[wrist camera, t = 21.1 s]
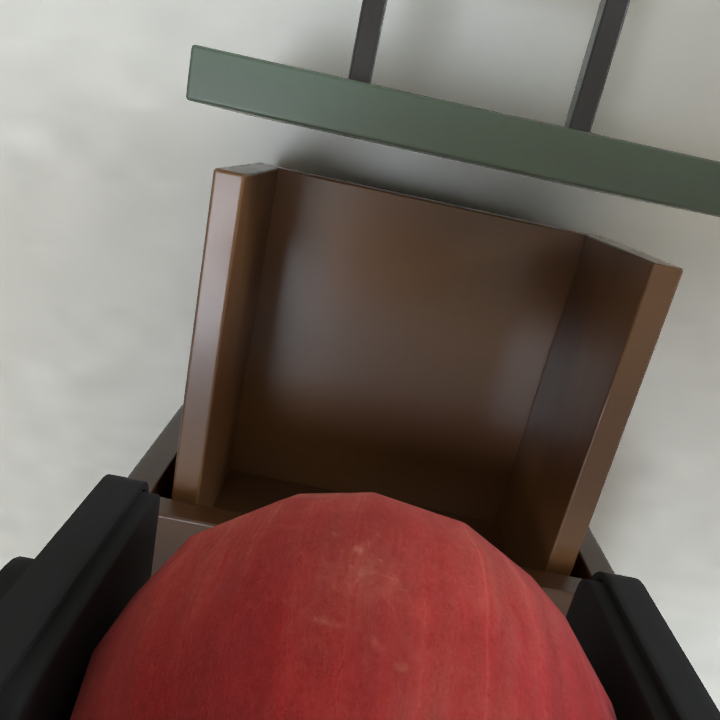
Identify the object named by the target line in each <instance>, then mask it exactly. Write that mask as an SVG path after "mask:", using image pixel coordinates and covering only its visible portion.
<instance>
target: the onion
mask: <svg viewBox="0 0 720 720" xmlns="http://www.w3.org/2000/svg"><path fill="white" fill-rule="evenodd" d="M70 720H617V718H616V715H615V712H614V709H613V706H612V703H611V701H610V699H609V697H608V695H607V694H606V692H605V690H604V688H603V686H602V684H601V682H600V681H599V679H598V677H597V675H596V673H595V671H594V669H593V668H592V666H591V664H590V662H589V660H588V658H587V656H586V655H585V653H584V651H583V649H582V647H581V645H580V643H579V642H578V640H577V638H576V636H575V634H574V632H573V630H572V629H571V627H570V625H569V623H568V621H567V619H566V617H565V616H564V615H563V614H562V612H561V611H560V610H559V609H558V608H557V606H556V605H555V604H554V603H553V602H552V600H551V599H550V598H549V597H548V595H547V594H546V593H545V592H544V591H543V589H542V588H541V587H540V586H539V585H538V583H537V582H536V581H535V580H534V579H533V577H532V576H530V575H529V574H528V573H527V572H525V571H524V570H523V569H522V568H520V567H519V566H518V565H517V564H515V563H514V562H513V561H512V560H510V559H509V558H508V557H507V556H506V555H504V554H503V553H502V552H501V551H499V550H498V549H497V548H496V547H494V546H493V545H492V544H491V543H489V542H488V541H487V540H486V539H485V538H483V537H482V536H481V535H480V534H478V533H477V532H476V531H475V530H473V529H472V528H471V527H470V526H468V525H467V524H466V523H464V522H461V521H458V520H455V519H452V518H449V517H446V516H443V515H440V514H437V513H434V512H431V511H428V510H425V509H422V508H419V507H416V506H413V505H410V504H407V503H404V502H401V501H398V500H395V499H392V498H389V497H386V496H383V495H380V494H377V493H374V492H361V493H308V494H297V495H294V496H291V497H289V498H286V499H283V500H280V501H277V502H275V503H272V504H270V505H267V506H265V507H262V508H260V509H257V510H255V511H252V512H250V513H247V514H244V515H242V516H239V517H237V518H234V519H232V520H229V521H227V522H224V523H222V524H219V525H217V526H214V527H212V528H209V529H207V530H204V531H202V532H199V533H197V534H194V535H192V536H190V537H189V538H188V539H187V541H186V542H185V543H184V544H183V545H182V546H181V547H180V548H179V549H178V550H177V551H176V552H175V553H174V554H173V555H172V556H171V557H170V558H169V559H168V560H167V561H166V562H165V563H164V564H163V566H162V567H161V568H160V569H159V570H158V571H157V572H156V573H155V574H154V575H153V576H152V577H151V578H150V579H149V580H148V581H147V582H146V583H145V584H144V585H143V586H142V587H141V588H140V589H139V590H138V592H137V593H136V594H135V595H134V596H133V597H132V598H131V600H130V601H129V602H128V604H127V605H126V606H125V608H124V609H123V611H122V612H121V613H120V615H119V616H118V618H117V619H116V620H115V622H114V623H113V624H112V626H111V627H110V629H109V630H108V631H107V633H106V634H105V635H104V637H103V638H102V640H101V641H100V642H99V644H98V645H97V646H96V648H95V649H94V651H93V652H92V655H91V658H90V661H89V664H88V667H87V670H86V673H85V676H84V679H83V682H82V685H81V688H80V691H79V694H78V697H77V700H76V703H75V706H74V709H73V712H72V715H71V718H70Z"/></svg>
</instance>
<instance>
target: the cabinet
mask: <svg viewBox="0 0 720 720" xmlns="http://www.w3.org/2000/svg"><path fill="white" fill-rule="evenodd" d="M182 412H183V405H182V406H181V408H180V409H179V410H178V412H177V413H176V414H175V416H174V417H173V418H172V420H171V421H170V422H169V423H168V425H167V426H166V427H165V429H164V430H163V431H162V433H161V434H160V435H159V437H158V438H157V439H156V441H155V442H154V443H153V445H152V446H151V447H150V449H149V450H148V451H147V453H146V454H145V455H144V456H143V458H142V459H141V460H140V462H139V463H138V464H137V466H136V467H135V468H134V470H133V471H132V472H131V474H130V475H129V476H128V478H131V479H136V480H141V481H146V482H147V483H148V485H149V493H153V494H158V495H159V496H160V508H159V516H158V524H157V532H156V540H155V548H154V556H153V564H152V573H151V577H152V576H153V575H154V574H155V573H156V572H157V571H158V570H159V569H160V568H161V567H162V566H163V564H164V563H165V562H166V561H167V560H168V559H169V558H170V557H171V556H172V555H173V554H174V553H175V552H176V551H177V550H178V549H179V548H180V547H181V546H182V545H183V544H184V543H185V542H186V541H187V539H188V538H189V537H190V536H192V535H194V534H197V533H199V532H202V531H204V530H207V529H209V528H212V527H214V526H217V525H219V524H222V523H224V522H227V521H229V520H232V519H234V518H237V517H239V516H242V515H244V514H246V513H241V512H236V511H231V510H226V509H221V508H215V507H210V506H205V505H200V504H195V503H190V502H185V501H179V500H174V499H171V496H172V489H173V481H174V473H175V465H176V458H177V450H178V442H179V435H180V427H181V419H182ZM520 568H522V569H523V570H524V571H525V572H527V573H528V574H529V575H530V576H532V577H533V579H534V580H535V581H536V582H537V583H538V585H539V586H540V587H541V588H542V589H543V591H544V592H545V593H546V594H547V595H548V597H549V598H550V599H551V600H552V602H553V603H554V604H555V605H556V606H557V608H558V609H559V610H560V611H561V612H562V614H563V615H564V616H565V617H566V615H567V612H568V609H569V607H570V604H571V602H572V599H573V596H574V594H575V591H576V588H577V586H578V584H579V582H580V581H581V580H582V579H591V577H592V576H593V575H594V574H595V573H596V572H599V571H602V572H607V573H612V574H615V573H614V572H613V570H612V568H611V566H610V564H609V563H608V561H607V559H606V557H605V555H604V554H603V552H602V550H601V548H600V546H599V545H598V543H597V541H596V539H595V537H594V536H593V534H592V532H591V530H590V529H589V527H588V528H587V531H586V534H585V537H584V539H583V542H582V545H581V547H580V550H579V553H578V555H577V558H576V561H575V564H574V566H573V569H572V572H571V574H570V576H565V575H560V574H555V573H550V572H544V571H539V570H534V569H529V568H524V567H520Z"/></svg>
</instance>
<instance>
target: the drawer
mask: <svg viewBox="0 0 720 720" xmlns="http://www.w3.org/2000/svg"><path fill="white" fill-rule="evenodd" d="M629 3H630V0H601V2H600V5H599V9H598V12H597V16H596V19H595V23H594V26H593V30H592V33H591V36H590V40H589V43H588V47H587V50H586V54H585V57H584V61H583V64H582V67H581V71H580V74H579V78H578V81H577V85H576V88H575V91H574V95H573V98H572V102H571V105H570V109H569V112H568V116H567V119H566V122H565V126H564V127H561V126H557V125H552V124H548V123H543V122H539V121H534V120H530V119H525V118H521V117H516V116H512V115H507V114H503V113H498V112H494V111H489V110H485V109H480V108H476V107H472V106H467V105H463V104H458V103H454V102H449V101H445V100H440V99H436V98H431V97H427V96H422V95H418V94H413V93H409V92H404V91H400V90H395V89H391V88H386V87H382V86H377V85H373V84H371V81H372V76H373V70H374V65H375V60H376V55H377V50H378V45H379V40H380V35H381V30H382V25H383V20H384V15H385V9H386V4H387V0H363V1H362V7H361V12H360V17H359V23H358V28H357V34H356V39H355V44H354V50H353V55H352V60H351V66H350V71H349V77H348V79H346V78H342V77H337V76H333V75H328V74H324V73H319V72H315V71H310V70H306V69H301V68H297V67H292V66H288V65H283V64H279V63H274V62H270V61H265V60H261V59H257V58H252V57H248V56H243V55H239V54H234V53H230V52H225V51H221V50H216V49H212V48H207V47H203V46H198V45H193V46H192V49H191V58H190V66H189V75H188V84H187V93H186V97H187V99H188V100H190V101H194V102H198V103H202V104H206V105H210V106H214V107H218V108H222V109H226V110H230V111H234V112H238V113H242V114H246V115H250V116H255V117H260V118H264V119H269V120H273V121H278V122H282V123H287V124H291V125H296V126H301V127H305V128H310V129H314V130H319V131H323V132H328V133H332V134H337V135H342V136H346V137H351V138H355V139H360V140H364V141H369V142H373V143H378V144H383V145H387V146H392V147H396V148H401V149H405V150H410V151H414V152H419V153H424V154H428V155H433V156H437V157H442V158H446V159H451V160H455V161H460V162H465V163H469V164H474V165H478V166H483V167H487V168H492V169H496V170H501V171H506V172H510V173H515V174H519V175H524V176H528V177H533V178H537V179H542V180H547V181H551V182H556V183H560V184H565V185H569V186H574V187H578V188H583V189H588V190H592V191H597V192H601V193H606V194H610V195H615V196H619V197H624V198H629V199H633V200H638V201H643V202H648V203H653V204H658V205H663V206H668V207H672V208H677V209H682V210H687V211H692V212H697V213H702V214H707V215H712V216H717V217H720V162H718V161H713V160H709V159H704V158H700V157H696V156H691V155H687V154H682V153H678V152H673V151H669V150H664V149H660V148H655V147H651V146H646V145H642V144H637V143H633V142H628V141H624V140H619V139H615V138H610V137H606V136H601V135H597V134H592V133H590V131H591V128H592V125H593V122H594V118H595V115H596V112H597V108H598V105H599V102H600V99H601V95H602V92H603V89H604V85H605V82H606V79H607V75H608V72H609V69H610V66H611V62H612V59H613V56H614V52H615V49H616V46H617V42H618V39H619V36H620V33H621V29H622V26H623V23H624V19H625V16H626V13H627V10H628V6H629ZM682 272H683V269H681V268H679V267H676V266H674V265H671V264H669V263H666V262H664V261H661V260H659V259H656V258H654V257H651V256H649V255H646V254H644V253H641V252H639V251H636V250H634V249H631V248H629V247H626V246H624V245H621V244H619V243H616V242H614V241H611V240H609V239H606V238H603V237H601V236H597V235H592V234H587V233H583V232H578V231H574V230H569V229H564V228H560V227H555V226H550V225H546V224H541V223H537V222H532V221H527V220H523V219H518V218H514V217H509V216H504V215H500V214H495V213H490V212H486V211H481V210H477V209H472V208H467V207H463V206H458V205H454V204H449V203H444V202H440V201H435V200H431V199H426V198H421V197H417V196H412V195H407V194H403V193H398V192H394V191H389V190H384V189H380V188H375V187H371V186H366V185H361V184H357V183H352V182H347V181H343V180H338V179H334V178H329V177H324V176H320V175H315V174H311V173H306V172H301V171H297V170H292V169H287V168H283V167H278V166H274V165H269V164H264V163H255V164H247V165H239V166H232V167H224V168H217V169H215V170H214V173H213V181H212V189H211V196H210V204H209V212H208V219H207V227H206V235H205V242H204V250H203V258H202V265H201V273H200V281H199V289H198V296H197V304H196V312H195V319H194V327H193V335H192V342H191V350H190V358H189V365H188V373H187V381H186V389H185V396H184V404H183V412H182V419H181V427H180V435H179V442H178V450H177V458H176V465H175V473H174V481H173V489H172V496H171V499H174V500H179V501H185V502H190V503H195V504H200V505H205V506H210V507H215V508H221V509H226V510H231V511H236V512H241V513H246V514H247V513H250V512H252V511H255V510H257V509H260V508H262V507H265V506H267V505H270V504H272V503H275V502H277V501H280V500H283V499H286V498H289V497H291V496H294V495H297V494H308V493H361V492H374V493H377V494H380V495H383V496H386V497H389V498H392V499H395V500H398V501H401V502H404V503H407V504H410V505H413V506H416V507H419V508H422V509H425V510H428V511H431V512H434V513H437V514H440V515H443V516H446V517H449V518H452V519H455V520H458V521H461V522H464V523H466V524H467V525H468V526H470V527H471V528H472V529H473V530H475V531H476V532H477V533H478V534H480V535H481V536H482V537H483V538H485V539H486V540H487V541H488V542H489V543H491V544H492V545H493V546H494V547H496V548H497V549H498V550H499V551H501V552H502V553H503V554H504V555H506V556H507V557H508V558H509V559H510V560H512V561H513V562H514V563H515V564H517V565H518V566H519V567H524V568H529V569H534V570H539V571H544V572H550V573H555V574H560V575H565V576H570V574H571V572H572V569H573V566H574V564H575V561H576V558H577V555H578V553H579V550H580V547H581V545H582V542H583V539H584V537H585V534H586V531H587V528H588V526H589V523H590V520H591V518H592V515H593V512H594V510H595V507H596V504H597V502H598V499H599V496H600V493H601V491H602V488H603V485H604V483H605V480H606V477H607V475H608V472H609V469H610V466H611V464H612V461H613V458H614V456H615V453H616V450H617V448H618V445H619V442H620V439H621V437H622V434H623V431H624V429H625V426H626V423H627V421H628V418H629V415H630V413H631V410H632V407H633V404H634V402H635V399H636V396H637V394H638V391H639V388H640V386H641V383H642V380H643V377H644V375H645V372H646V369H647V367H648V364H649V361H650V359H651V356H652V353H653V351H654V348H655V345H656V342H657V340H658V337H659V334H660V332H661V329H662V326H663V324H664V321H665V318H666V315H667V313H668V310H669V307H670V305H671V302H672V299H673V297H674V294H675V291H676V288H677V286H678V283H679V280H680V278H681V275H682Z"/></svg>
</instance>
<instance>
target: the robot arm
mask: <svg viewBox="0 0 720 720" xmlns="http://www.w3.org/2000/svg"><path fill="white" fill-rule="evenodd" d="M159 508H160V496H159V495H158V494H153V493H149V485H148V483H147V482H146V481H141V480H136V479H131V478H126V477H121V476H116V475H111V474H108V475H106V476H104V477H103V478H102V480H101V481H100V482H99V483H98V484H97V486H96V487H95V488H94V489H93V490H92V491H91V493H90V494H89V495H88V496H87V497H86V499H85V500H84V501H83V502H82V503H81V505H80V506H79V507H78V508H77V509H76V510H75V512H74V513H73V514H72V515H71V516H70V518H69V519H68V520H67V521H66V522H65V524H64V525H63V526H62V527H61V528H60V530H59V531H58V532H57V533H56V534H55V535H54V537H53V538H52V539H51V540H50V541H49V543H48V544H47V545H46V546H45V547H44V549H43V550H42V551H41V552H40V553H39V555H38V556H37V557H36V558H35V559H31V558H26V557H21V556H19V557H17V558H14V559H12V560H11V561H10V562H9V563H8V564H6V565H5V566H4V567H3V568H2V569H1V571H0V720H70V718H71V715H72V712H73V709H74V706H75V703H76V700H77V697H78V694H79V691H80V688H81V685H82V682H83V679H84V676H85V673H86V670H87V667H88V664H89V661H90V658H91V655H92V652H93V651H94V649H95V648H96V646H97V645H98V644H99V642H100V641H101V640H102V638H103V637H104V635H105V634H106V633H107V631H108V630H109V629H110V627H111V626H112V624H113V623H114V622H115V620H116V619H117V618H118V616H119V615H120V613H121V612H122V611H123V609H124V608H125V606H126V605H127V604H128V602H129V601H130V600H131V598H132V597H133V596H134V595H135V594H136V593H137V592H138V590H139V589H140V588H141V587H142V586H143V585H144V584H145V583H146V582H147V581H148V580H149V579H150V578H151V573H152V564H153V556H154V548H155V540H156V532H157V524H158V516H159ZM566 619H567V621H568V623H569V625H570V627H571V629H572V630H573V632H574V634H575V636H576V638H577V640H578V642H579V643H580V645H581V647H582V649H583V651H584V653H585V655H586V656H587V658H588V660H589V662H590V664H591V666H592V668H593V669H594V671H595V673H596V675H597V677H598V679H599V681H600V682H601V684H602V686H603V688H604V690H605V692H606V694H607V695H608V697H609V699H610V701H611V703H612V706H613V709H614V712H615V715H616V718H617V720H720V712H719V710H718V709H717V707H716V705H715V704H714V702H713V700H712V699H711V697H710V695H709V694H708V692H707V690H706V689H705V687H704V685H703V684H702V682H701V680H700V679H699V677H698V675H697V674H696V672H695V670H694V668H693V667H692V665H691V663H690V662H689V660H688V658H687V657H686V655H685V653H684V652H683V650H682V648H681V647H680V645H679V643H678V642H677V640H676V638H675V637H674V635H673V633H672V632H671V630H670V628H669V627H668V625H667V623H666V622H665V620H664V618H663V617H662V615H661V613H660V612H659V610H658V608H657V607H656V605H655V603H654V602H653V600H652V598H651V597H650V595H649V593H648V592H647V590H646V588H645V587H644V585H643V584H642V582H641V581H640V580H638V579H636V578H632V577H627V576H622V575H617V574H612V573H607V572H602V571H599V572H596V573H595V574H594V575H593V576H592V577H591V579H582V580H581V581H580V582H579V584H578V586H577V588H576V591H575V594H574V596H573V599H572V602H571V604H570V607H569V609H568V612H567V615H566Z"/></svg>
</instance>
